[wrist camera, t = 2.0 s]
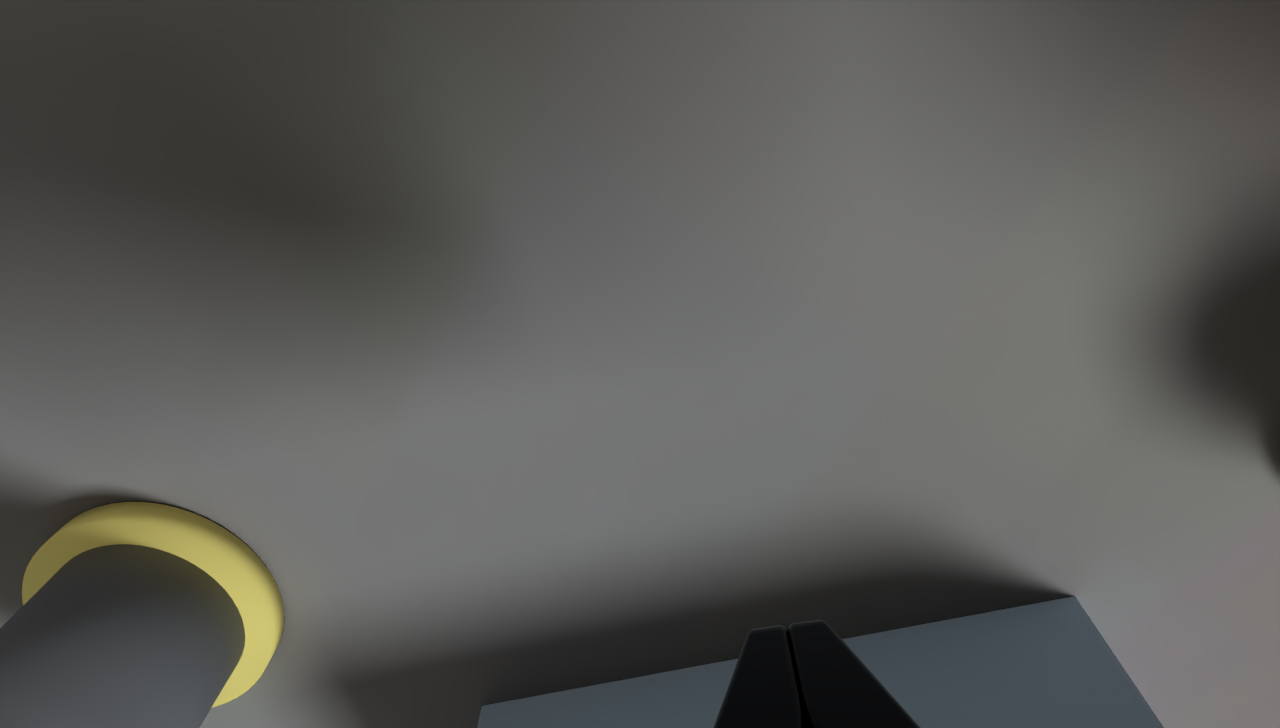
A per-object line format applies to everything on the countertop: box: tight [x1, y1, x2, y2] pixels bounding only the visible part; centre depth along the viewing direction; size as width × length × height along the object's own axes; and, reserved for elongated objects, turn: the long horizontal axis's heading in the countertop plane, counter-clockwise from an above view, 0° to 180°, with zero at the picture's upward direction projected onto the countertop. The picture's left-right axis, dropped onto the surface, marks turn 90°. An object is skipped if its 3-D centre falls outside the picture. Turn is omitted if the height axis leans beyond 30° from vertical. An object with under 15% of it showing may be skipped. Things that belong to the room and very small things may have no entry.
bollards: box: [0, 502, 285, 728], centre depth 13 cm, size 28×5×4 cm, turn 101°
